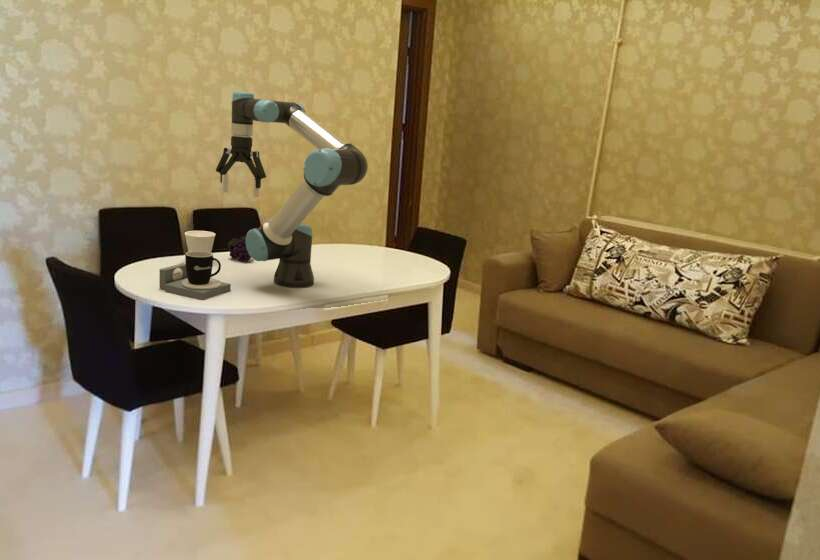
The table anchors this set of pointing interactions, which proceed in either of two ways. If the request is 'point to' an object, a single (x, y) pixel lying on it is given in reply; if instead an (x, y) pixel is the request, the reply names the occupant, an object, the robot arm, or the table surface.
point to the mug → (200, 267)
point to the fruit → (239, 249)
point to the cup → (199, 240)
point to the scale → (178, 283)
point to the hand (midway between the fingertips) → (239, 194)
